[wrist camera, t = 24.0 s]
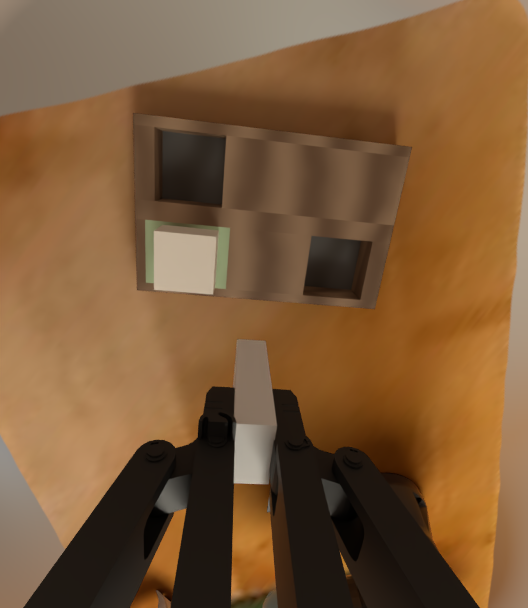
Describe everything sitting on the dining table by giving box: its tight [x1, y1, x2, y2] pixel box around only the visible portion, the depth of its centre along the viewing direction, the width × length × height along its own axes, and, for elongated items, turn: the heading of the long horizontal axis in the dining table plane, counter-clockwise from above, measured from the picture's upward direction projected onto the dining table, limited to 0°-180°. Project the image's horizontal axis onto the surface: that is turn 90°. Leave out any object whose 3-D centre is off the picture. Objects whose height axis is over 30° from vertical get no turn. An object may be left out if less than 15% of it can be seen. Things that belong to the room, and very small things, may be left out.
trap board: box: [133, 113, 412, 309], centre depth 40 cm, size 28×18×4 cm, turn 84°
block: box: [154, 225, 219, 295], centre depth 37 cm, size 6×6×4 cm
